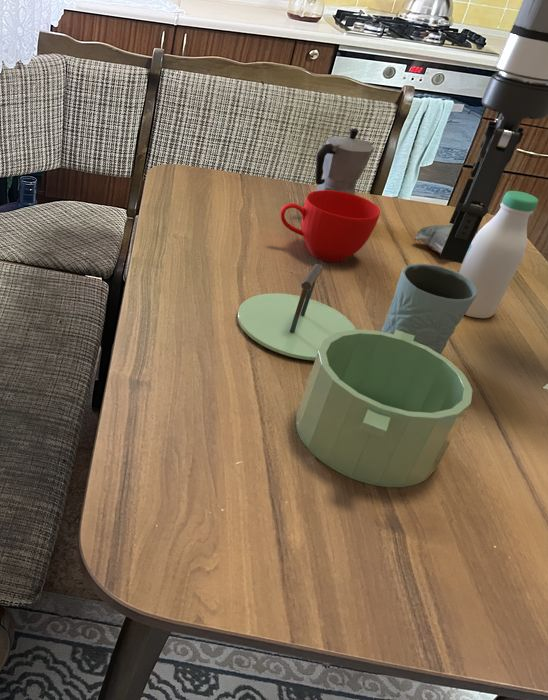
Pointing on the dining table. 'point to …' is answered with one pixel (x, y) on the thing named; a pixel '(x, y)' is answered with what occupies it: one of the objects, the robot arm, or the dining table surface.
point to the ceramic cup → (334, 223)
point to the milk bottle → (497, 253)
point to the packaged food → (435, 236)
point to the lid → (292, 320)
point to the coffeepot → (342, 162)
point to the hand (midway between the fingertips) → (455, 241)
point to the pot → (381, 407)
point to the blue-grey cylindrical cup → (429, 304)
